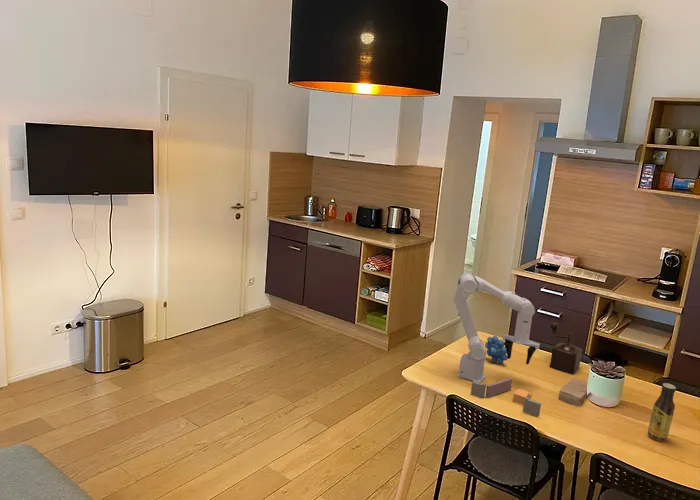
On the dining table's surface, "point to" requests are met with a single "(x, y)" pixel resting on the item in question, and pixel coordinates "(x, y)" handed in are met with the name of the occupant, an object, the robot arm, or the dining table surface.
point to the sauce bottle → (662, 414)
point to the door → (498, 387)
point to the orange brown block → (521, 396)
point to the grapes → (496, 349)
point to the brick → (574, 392)
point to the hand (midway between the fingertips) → (518, 360)
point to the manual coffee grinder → (565, 354)
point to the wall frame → (529, 405)
